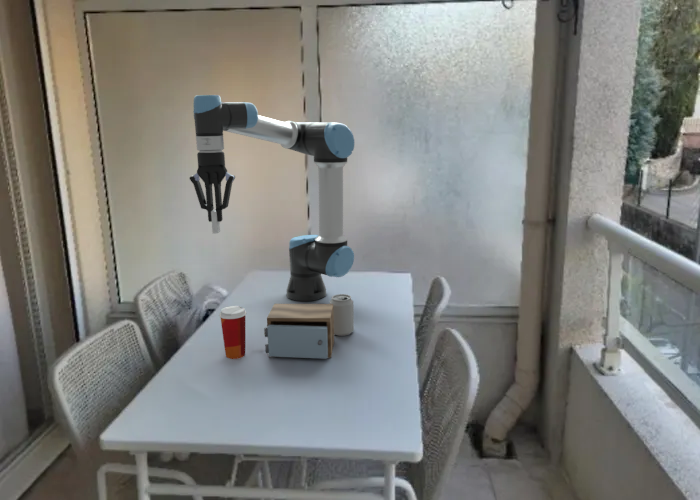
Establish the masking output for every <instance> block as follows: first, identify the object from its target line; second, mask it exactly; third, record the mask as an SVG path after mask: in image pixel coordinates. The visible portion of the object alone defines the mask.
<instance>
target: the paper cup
mask: <svg viewBox="0 0 700 500" xmlns="http://www.w3.org/2000/svg"><path fill="white" fill-rule="evenodd" d="M246 315H247V311H246V309H245V307H243V306H240V305H231V306H226V307H223V308H221V310H220V313H219V315H218V316H219V318H220V324H221V330H222V339H223V345H224V353H225V357H226V358H227V359H229V360H238V359H242V358H244V357H245V355H246Z"/></svg>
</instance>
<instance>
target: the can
mask: <svg viewBox="0 0 700 500" xmlns="http://www.w3.org/2000/svg"><path fill="white" fill-rule="evenodd" d="M329 304H333V307H334V336H340V337H344V336H349V335H351V334H352V333H353V332H354V331H355V330H354V329H355V328H354V326H355V325H354V324H355V323H354V315H355V314H354V300H353V299H352V296H351V295H350V294H346V293H340V294H339V293H338V294H334V295H332V296H331V300H329Z"/></svg>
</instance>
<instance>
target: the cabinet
mask: <svg viewBox="0 0 700 500" xmlns="http://www.w3.org/2000/svg"><path fill="white" fill-rule="evenodd" d="M268 325H295V326H325V327H327V336H328V358H332V355H333V349H334V344H335V334H334V307H333V304H330V303H274V304H273V305H272V307H271V309H270V310H269V314H268V315H267V317H266V328H267V327H268ZM268 357H269V358H274V357H273V356H269V355H268ZM328 358H327V359H328Z"/></svg>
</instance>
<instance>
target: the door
mask: <svg viewBox="0 0 700 500" xmlns="http://www.w3.org/2000/svg"><path fill="white" fill-rule="evenodd" d="M264 337H265V338H267V343H265V344H264V347H265V348H264V349H265V354H268V357H269V356H273V357H272V358H300V359H301V358H302V359H303V358H305V359H306V358H307V359H326V360H327V359H328V336H327V327H325V326H295V325H268V327H267V326H266V327H264Z"/></svg>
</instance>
